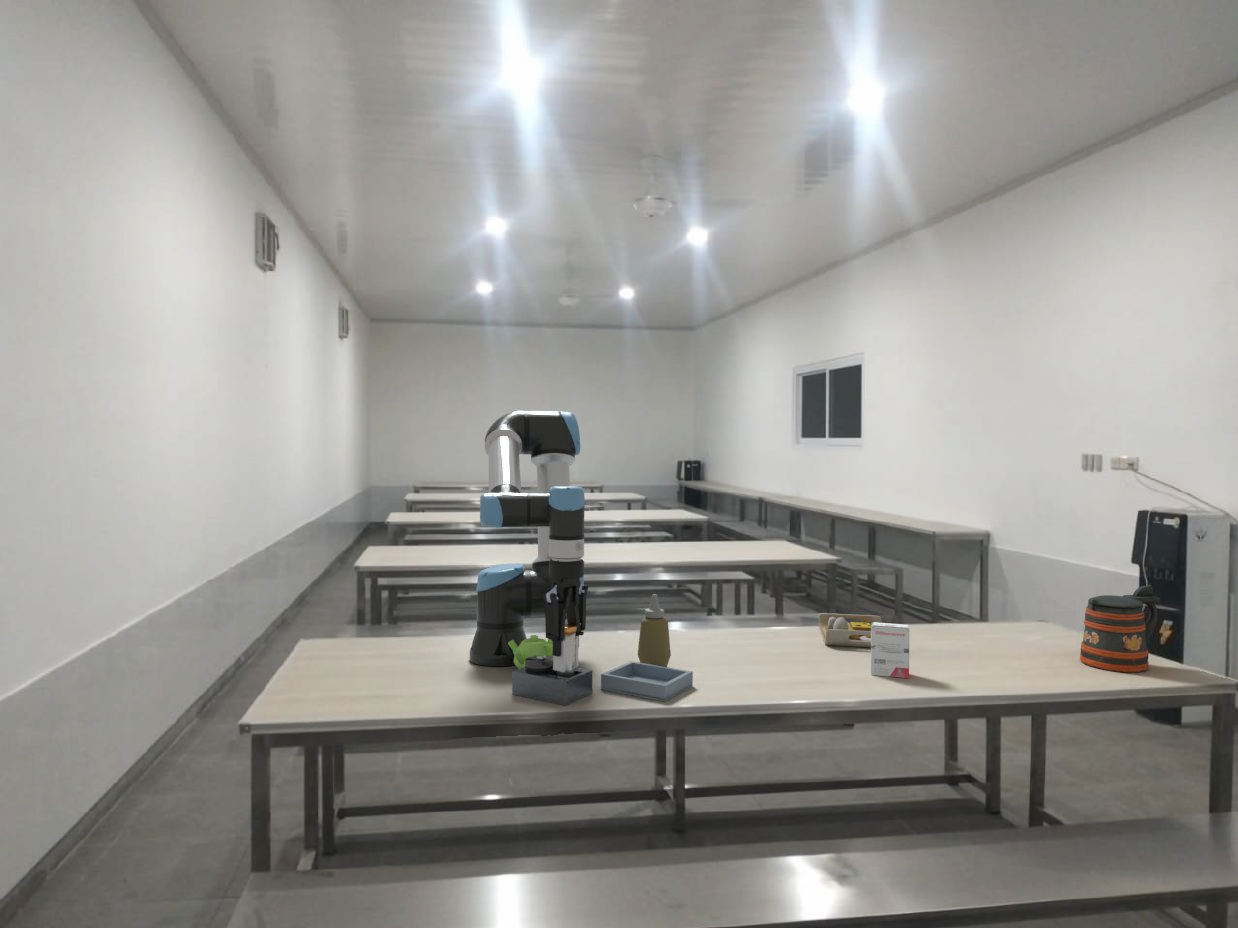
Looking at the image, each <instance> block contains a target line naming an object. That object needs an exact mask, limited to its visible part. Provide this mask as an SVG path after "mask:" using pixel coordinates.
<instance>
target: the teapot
mask: <svg viewBox="0 0 1238 928" xmlns="http://www.w3.org/2000/svg"><path fill="white" fill-rule="evenodd" d="M529 637H530V638H527V639H525V640H523V641H522V642H521V643H520V645H519V647H518V646H517V644H516V643H515V642H514V640H511V641H510V642H508V644H509V646H510V647H511V649H512V650H513V653H514V655H515V656H514V664H515V665H514V666H515V667H516V668H517V669H520V668H522V667H525V659H526V658H528V657H531V656H537V655H547V656H553V641H552V640H550V639H548V638H547V640H546V639H544V638H539V635H536V634H532V635H529Z"/></svg>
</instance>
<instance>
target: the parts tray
mask: <svg viewBox="0 0 1238 928" xmlns="http://www.w3.org/2000/svg"><path fill="white" fill-rule="evenodd" d="M693 674H694V672H693V671H691V670H686V669H679V668H674V667H668V666H667V667H663V666H657V665H651V664H645V663H640V661H639V662H638V661H633V660H631V661H629V662H626V663H624V664H621V665H619V666H617V667H615V668H613V669H609V670H608V671H605V672H603V673H601V674H600V689H601V690H604V691H608V692H613V693H618V694H624V695H630V696H635V697H640V698H645V699H648V700H649V699H650V700H655V701H660V702H667V701H669V700H671V699H673V698H674V697H676V696H678V695H680V694H681V693H684V692H685V691H687V690H689V689H690V688H692V687H694V686H693V682H694V679H693V677H694V676H693Z"/></svg>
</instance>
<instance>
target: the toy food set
mask: <svg viewBox="0 0 1238 928" xmlns="http://www.w3.org/2000/svg"><path fill="white" fill-rule="evenodd" d="M846 619H848V620H849V619H850V620H851V619H853V620H856V619H857V620H859V622H857V621H850V622H849V623H848V622H847V620H846ZM882 619H883V618H882V617H881V616H879V615H873V614H872V615H870V614H849V613H848V614H847V613H832V612H831V613H827V612H826V613H825V612H822V613H819V614H818V628H819V629H818V630H819V632H820V635H821V638H822V641H823V643H824V645H825V646H832V647H833V646H837V647H851V648H852V647H853V648H870V649H871V623H872V622H878V623H883V621H882Z"/></svg>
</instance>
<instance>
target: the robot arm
mask: <svg viewBox="0 0 1238 928" xmlns="http://www.w3.org/2000/svg"><path fill="white" fill-rule="evenodd" d="M580 435H581V434H580V428H579V424H578V420H577V418H576V415H575V414H574V413H573V412H571V411H570V412H569V411H560V410H554V411H553V410H551V411H550V410H514V411H511V412H508V413H505V414H504V415H502V416H500V417H498V419H496V420H495V421H494V422H493V423H492V424H491V425H490V427H489V428H488V430H487V432H486V434H485V438H484V450H485V453H486V455H487V456H488V492H486V493H481V495H480V497H479V522H480V524H481V526H482V527H490V528H498V529H500V528H510V527H511V528H512V527H513V528H514V527H515V528H518V527H522V528H523V527H526V528H527V527H531V528H534V527H536V528H537V557H536V558H535V559H534V560H533V561H532V563H531V569H525V567H524V565H523V564H521V563H507V564H500V565H495V566H491V567H487V568H485V569H482V570H480V572H479V573H478V574H477V579H476V580H477V581H476V583H477V584H476V588H475V590H476V592H477V594H476V599H477V600H476V630H475V633H474V637H473V639H472V644H471V647H470V649H469V661H470V662H471V663H473V664H475V665H479V666H483V667H484V666H487V667H508V666H509V667H510V666H516V665H515V664H514V656H515V655H514V653H513V650H512V649H511V647H510V646H509V644H508V642H510V641H511V640H514V642H515V643H516V644H517V646H518V647H519V645H520V643H521V642H522V641H523V640H525V639H528V638H527V634H526V632H525V627H524V626H525V625H524V624H525V623H524V618H525V617H545V618H544V619H545V638H546V639H547V640H548V639H550V640H552V641H553V670H555V671H561V672H565V671H566V640H563V637H564V629H565V624H566V623H567V624H572V625H576V626H577V632H575V667H577V668H578V667H579V647H580V636H581V637H582V636H583V635H584V633H585V632H584V631H585V630H586V623H587V621H586V619H587V595H588V591H589V585H587V584H584V580H585V577H584V576H585V560H584V559H582V558H584V556H585V505H586V500H585V498H586V497H585V490H584V488H583V487H582V486H576V485H571V483H570V481H571V479H570V475H571V474H570V467H571V465H572V464H573V463H574V462H575V461H576V460H575V459H576V457H577V455H580V454H581V442H580V441H581V436H580ZM520 455H530V461H531V463H532V464H533V465H534V466H535V467H536V484H537V485H536V491H537V492H534V493H533V492H522V483H521V481H522V480H521V467H520ZM575 456H576V457H575ZM566 619H567V620H566ZM566 621H567V622H566ZM558 634H559V635H558Z"/></svg>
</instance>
